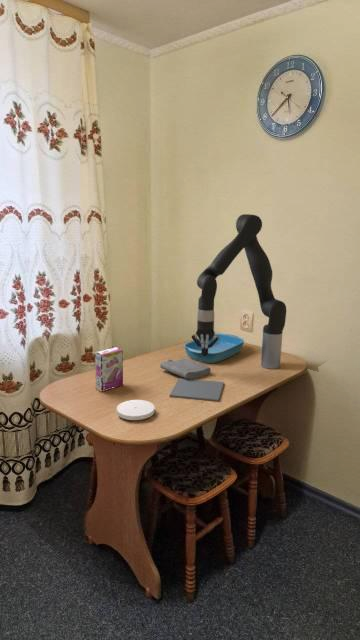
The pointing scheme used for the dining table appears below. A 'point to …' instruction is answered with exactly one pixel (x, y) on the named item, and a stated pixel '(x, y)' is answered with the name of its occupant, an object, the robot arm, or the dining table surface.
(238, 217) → the robot arm
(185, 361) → the hip flask
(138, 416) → the plastic lid
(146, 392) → the dining table surface
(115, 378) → the candy bar box
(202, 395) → the mat
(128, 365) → the dining table surface
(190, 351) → the casserole dish
